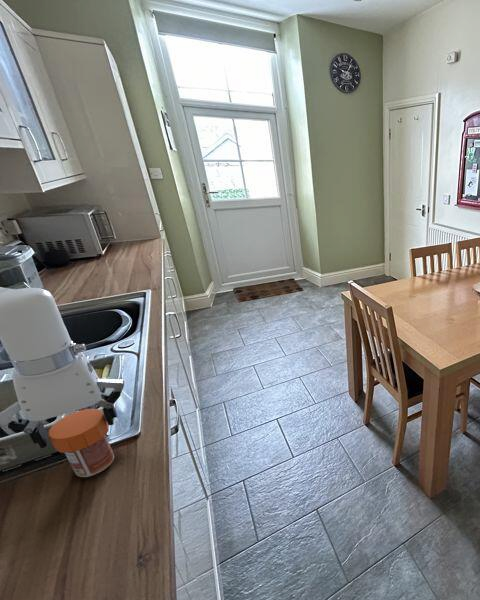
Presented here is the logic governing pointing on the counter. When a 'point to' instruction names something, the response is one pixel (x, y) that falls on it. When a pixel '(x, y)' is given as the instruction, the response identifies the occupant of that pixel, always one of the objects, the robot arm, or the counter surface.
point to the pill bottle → (91, 458)
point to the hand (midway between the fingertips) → (79, 431)
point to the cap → (78, 430)
